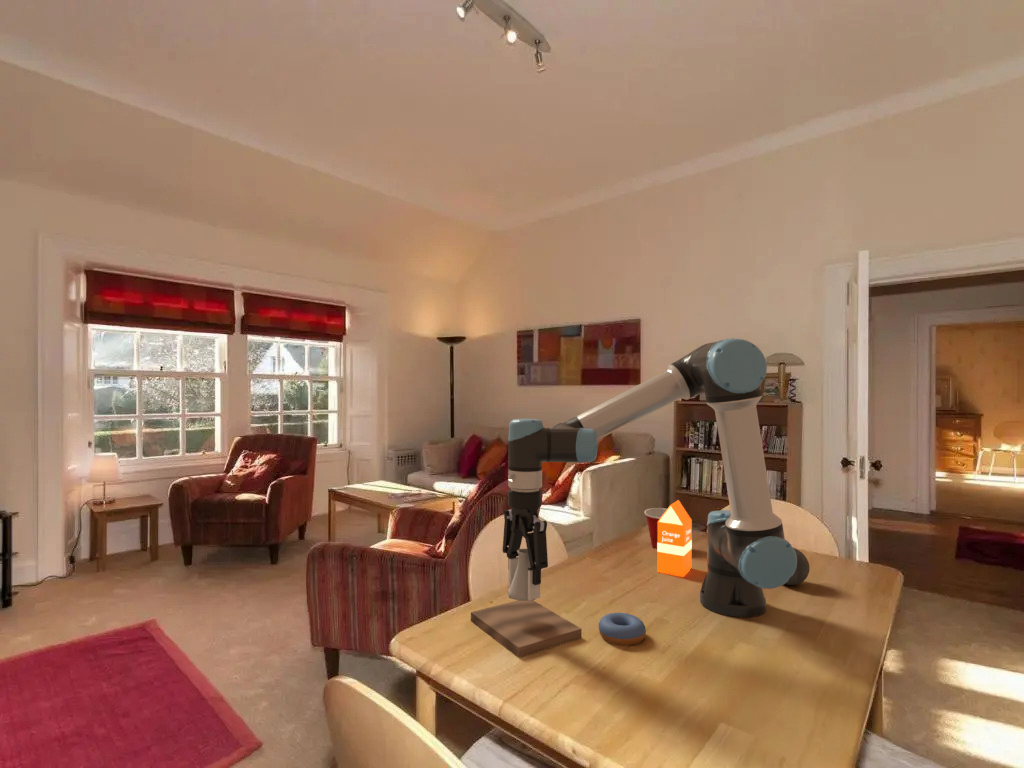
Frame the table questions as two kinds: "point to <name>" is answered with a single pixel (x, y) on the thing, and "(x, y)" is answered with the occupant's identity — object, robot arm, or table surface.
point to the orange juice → (674, 541)
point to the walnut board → (525, 627)
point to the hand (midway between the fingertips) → (523, 592)
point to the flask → (520, 578)
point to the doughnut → (622, 629)
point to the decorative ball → (799, 569)
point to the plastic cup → (654, 523)
